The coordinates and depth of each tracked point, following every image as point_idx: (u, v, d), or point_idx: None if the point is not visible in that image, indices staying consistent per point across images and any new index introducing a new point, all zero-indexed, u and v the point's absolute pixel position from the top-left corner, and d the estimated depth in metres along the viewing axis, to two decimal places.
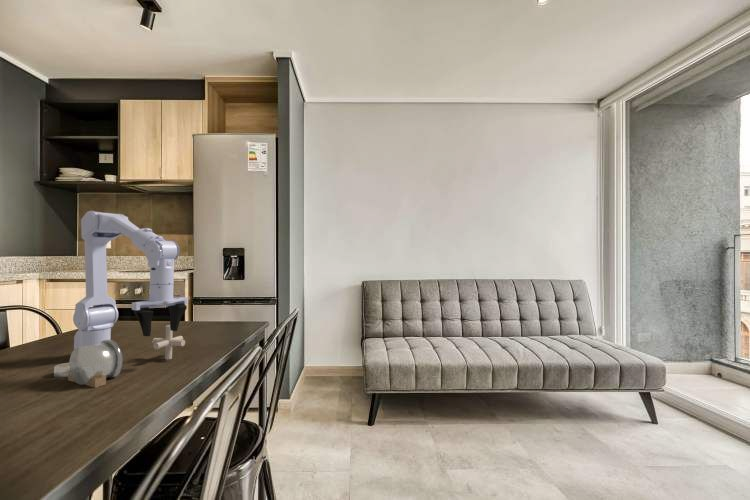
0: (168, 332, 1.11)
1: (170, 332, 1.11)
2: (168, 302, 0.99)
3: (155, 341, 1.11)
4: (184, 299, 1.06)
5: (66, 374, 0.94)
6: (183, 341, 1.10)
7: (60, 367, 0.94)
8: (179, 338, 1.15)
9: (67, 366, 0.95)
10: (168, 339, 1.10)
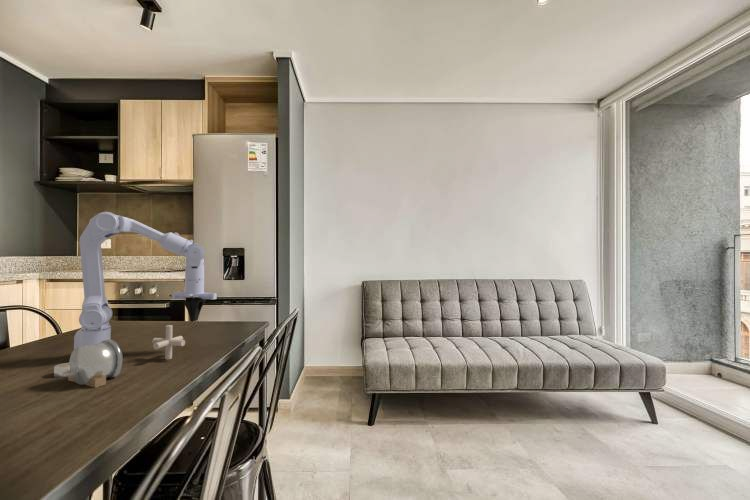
0: (168, 332, 1.11)
1: (170, 332, 1.11)
2: (185, 295, 1.18)
3: (155, 341, 1.11)
4: (210, 295, 1.20)
5: (66, 374, 0.94)
6: (183, 341, 1.10)
7: (60, 367, 0.94)
8: (179, 338, 1.15)
9: (67, 366, 0.95)
10: (168, 339, 1.10)
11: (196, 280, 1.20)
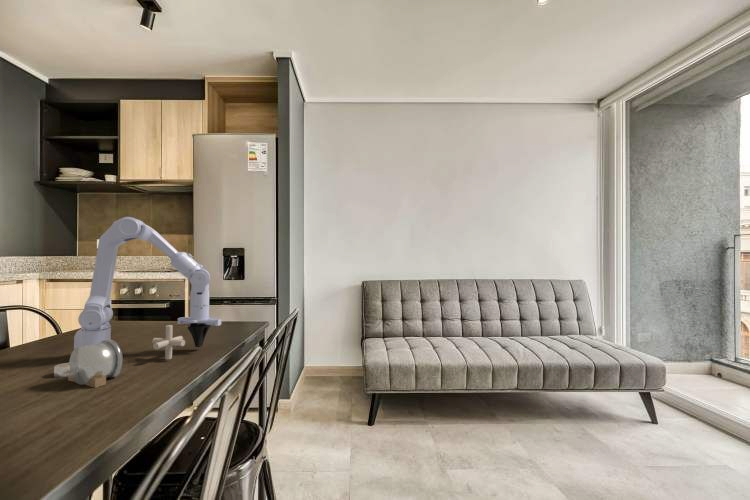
0: (168, 332, 1.11)
1: (170, 332, 1.11)
2: (190, 321, 1.18)
3: (155, 341, 1.11)
4: (214, 321, 1.20)
5: (66, 374, 0.94)
6: (183, 341, 1.10)
7: (60, 367, 0.94)
8: (179, 338, 1.15)
9: (67, 366, 0.95)
10: (168, 339, 1.10)
11: (201, 306, 1.19)
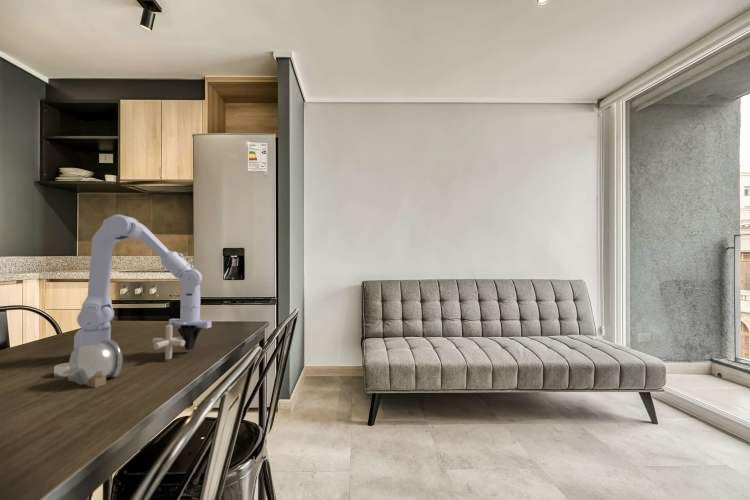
0: (168, 332, 1.11)
1: (170, 332, 1.11)
2: (179, 323, 1.14)
3: (155, 341, 1.11)
4: (204, 323, 1.16)
5: (66, 374, 0.94)
6: (183, 341, 1.10)
7: (60, 367, 0.94)
8: (179, 338, 1.15)
9: (67, 366, 0.95)
10: (168, 339, 1.10)
11: (190, 308, 1.16)
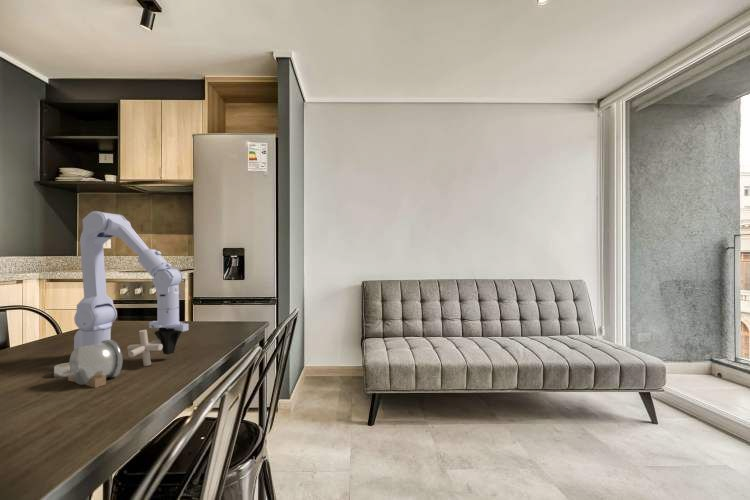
0: (143, 337, 1.03)
1: (145, 337, 1.04)
2: (154, 326, 1.07)
3: (130, 348, 1.04)
4: (179, 326, 1.07)
5: (66, 374, 0.94)
6: (160, 345, 1.04)
7: (60, 367, 0.94)
8: (156, 342, 1.08)
9: (67, 366, 0.95)
10: (144, 345, 1.03)
11: (166, 309, 1.08)
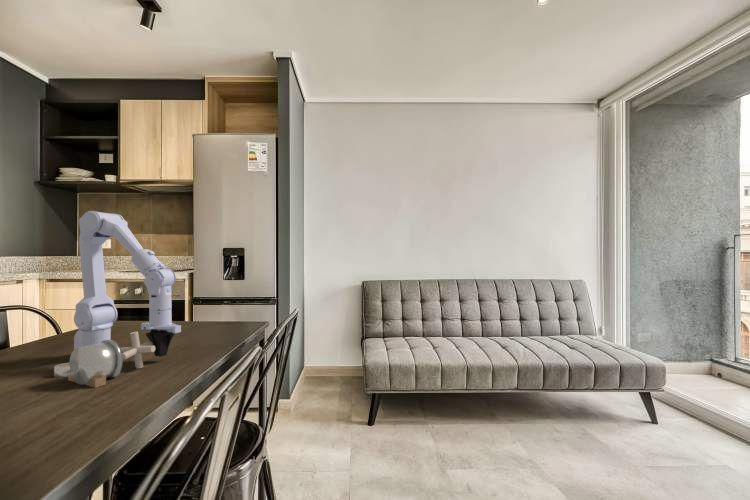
0: (134, 339, 1.01)
1: (136, 339, 1.01)
2: (146, 328, 1.05)
3: None
4: (172, 328, 1.05)
5: (66, 374, 0.94)
6: (153, 347, 1.02)
7: (60, 367, 0.94)
8: (148, 344, 1.06)
9: (67, 366, 0.95)
10: (135, 347, 1.01)
11: (158, 311, 1.06)
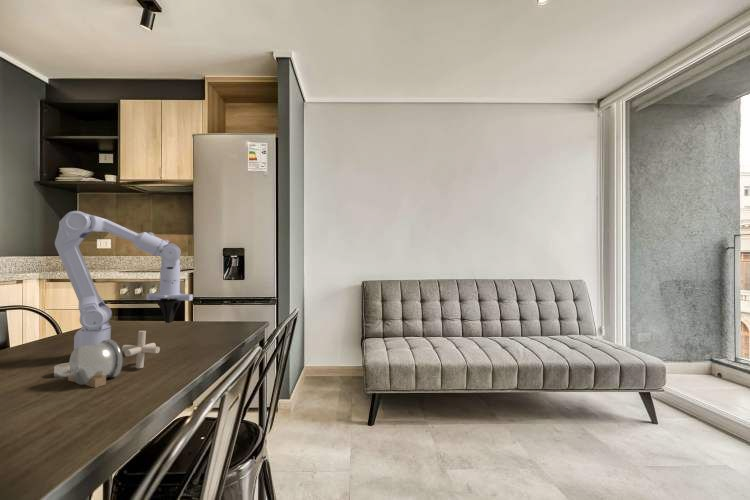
0: (141, 338, 1.02)
1: (143, 338, 1.03)
2: (160, 296, 1.16)
3: (125, 348, 1.02)
4: (185, 296, 1.18)
5: (66, 374, 0.94)
6: (158, 348, 1.02)
7: (60, 367, 0.94)
8: (152, 345, 1.06)
9: (67, 366, 0.95)
10: (140, 346, 1.02)
11: (171, 281, 1.18)
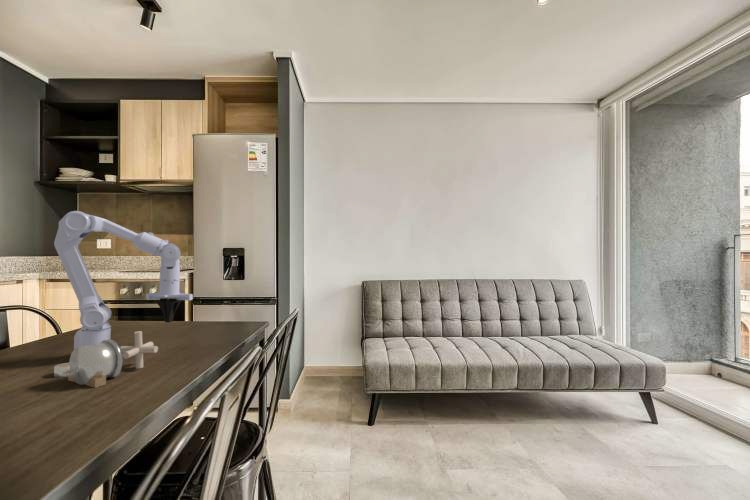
0: (138, 339, 1.01)
1: (140, 339, 1.02)
2: (160, 296, 1.16)
3: (122, 350, 1.02)
4: (186, 296, 1.19)
5: (66, 374, 0.94)
6: (156, 347, 1.02)
7: (60, 367, 0.94)
8: (149, 344, 1.06)
9: (67, 366, 0.95)
10: (138, 346, 1.01)
11: (171, 281, 1.18)
